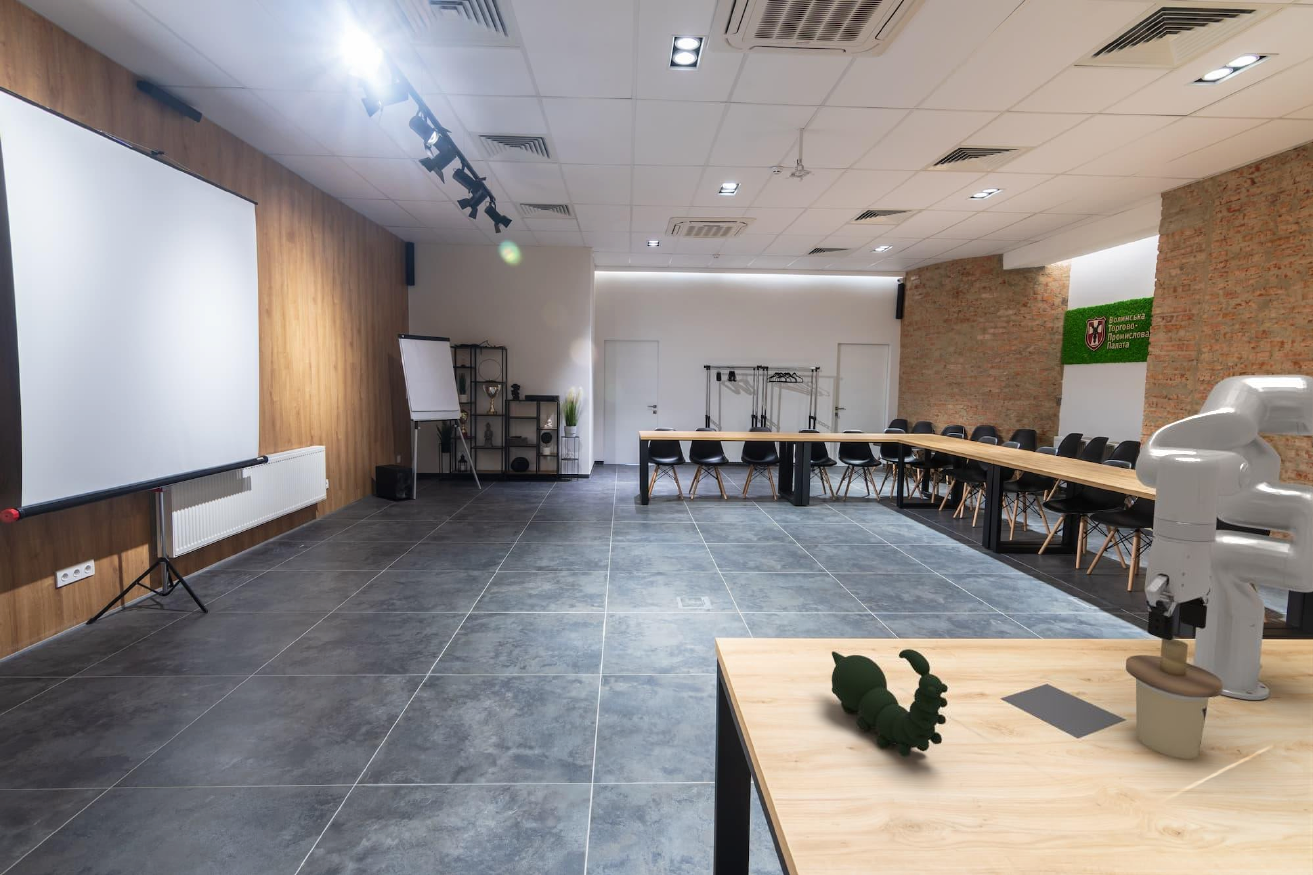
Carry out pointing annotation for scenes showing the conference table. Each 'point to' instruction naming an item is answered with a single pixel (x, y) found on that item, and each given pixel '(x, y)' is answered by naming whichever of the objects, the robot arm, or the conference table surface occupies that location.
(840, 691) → the toy figurine
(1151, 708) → the coffee cup
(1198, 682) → the lid
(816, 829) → the conference table surface
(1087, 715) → the mat
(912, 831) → the conference table surface
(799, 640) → the conference table surface
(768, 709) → the conference table surface
